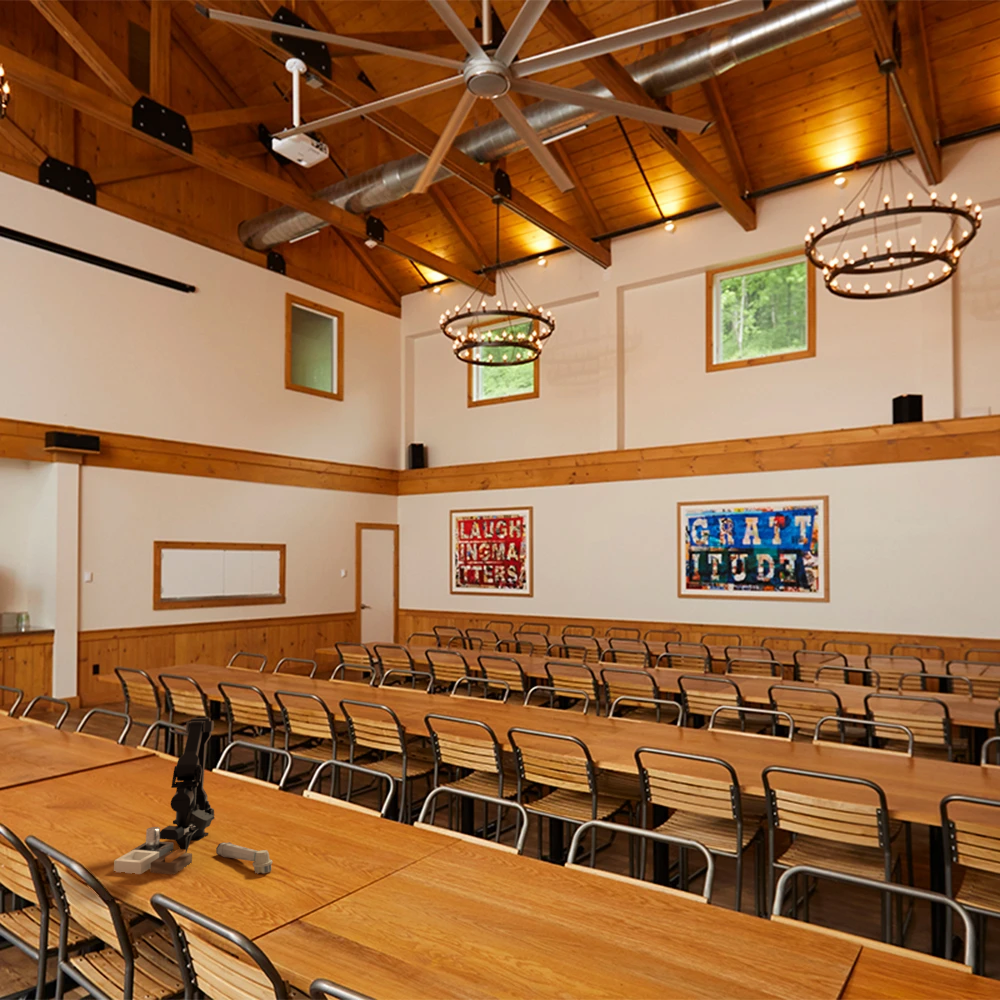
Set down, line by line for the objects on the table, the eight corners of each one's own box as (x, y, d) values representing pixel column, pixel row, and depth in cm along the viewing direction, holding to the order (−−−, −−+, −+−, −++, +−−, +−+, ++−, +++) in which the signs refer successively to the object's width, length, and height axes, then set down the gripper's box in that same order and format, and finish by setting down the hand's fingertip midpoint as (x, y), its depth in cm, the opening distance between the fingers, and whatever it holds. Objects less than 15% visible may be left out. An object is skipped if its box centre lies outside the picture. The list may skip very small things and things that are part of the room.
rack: (133, 861, 243) (133, 849, 243) (158, 863, 241) (159, 851, 241) (113, 872, 234) (114, 860, 234) (140, 874, 232) (140, 862, 233)
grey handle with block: (228, 839, 252) (275, 846, 237) (229, 861, 251) (276, 869, 236) (213, 844, 248) (260, 851, 233) (214, 866, 246) (261, 875, 232)
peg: (150, 851, 250) (151, 826, 251) (161, 852, 250) (162, 827, 250) (142, 856, 247) (143, 830, 247) (153, 857, 246) (155, 831, 246)
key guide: (168, 861, 243) (168, 851, 243) (191, 863, 241) (192, 853, 241) (150, 872, 234) (150, 862, 234) (174, 875, 232) (174, 864, 232)
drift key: (178, 860, 243) (178, 848, 243) (185, 861, 243) (185, 849, 243) (164, 869, 236) (165, 857, 236) (171, 869, 236) (172, 857, 236)
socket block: (148, 848, 253) (148, 840, 254) (173, 850, 252) (173, 842, 252) (130, 858, 245) (130, 850, 245) (156, 861, 243) (156, 852, 243)
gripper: (192, 813, 235) (190, 866, 233) (225, 795, 253) (223, 844, 252) (159, 811, 237) (157, 863, 235) (194, 793, 255) (192, 842, 254)
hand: (184, 853), depth 244 cm, fingers closed
